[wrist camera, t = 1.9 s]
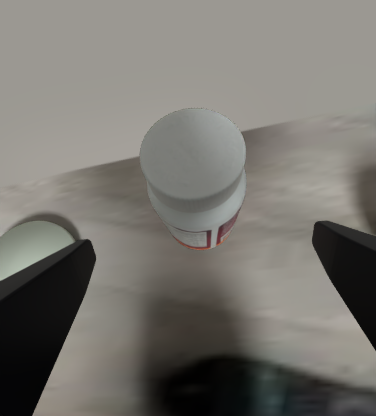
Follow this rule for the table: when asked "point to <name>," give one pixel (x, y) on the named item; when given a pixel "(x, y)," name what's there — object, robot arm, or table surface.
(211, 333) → the table surface
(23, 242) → the dish
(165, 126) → the pill bottle
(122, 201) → the table surface
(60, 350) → the robot arm
